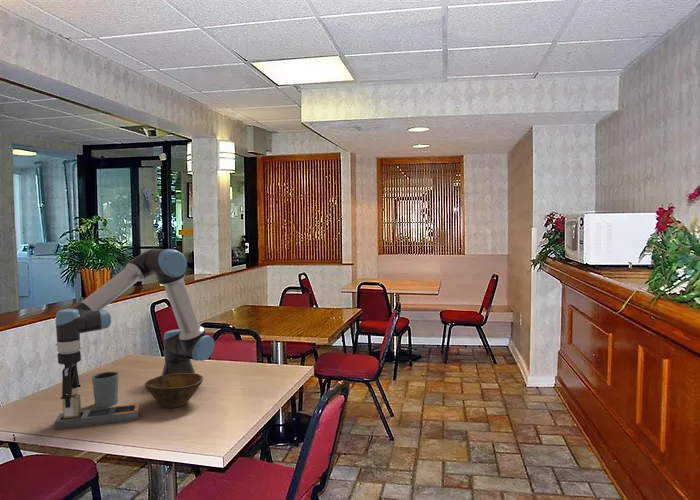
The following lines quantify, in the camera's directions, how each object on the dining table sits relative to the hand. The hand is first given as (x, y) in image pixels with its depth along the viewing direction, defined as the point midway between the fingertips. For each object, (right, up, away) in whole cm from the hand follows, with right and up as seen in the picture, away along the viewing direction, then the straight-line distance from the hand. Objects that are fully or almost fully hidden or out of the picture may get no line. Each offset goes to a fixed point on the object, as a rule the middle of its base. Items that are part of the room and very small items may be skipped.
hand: (72, 410), depth 196 cm
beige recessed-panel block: (0, -5, 0) cm, 5 cm away
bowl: (+32, -3, +20) cm, 37 cm away
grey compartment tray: (+9, -5, +3) cm, 10 cm away
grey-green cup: (+3, -4, +22) cm, 23 cm away
